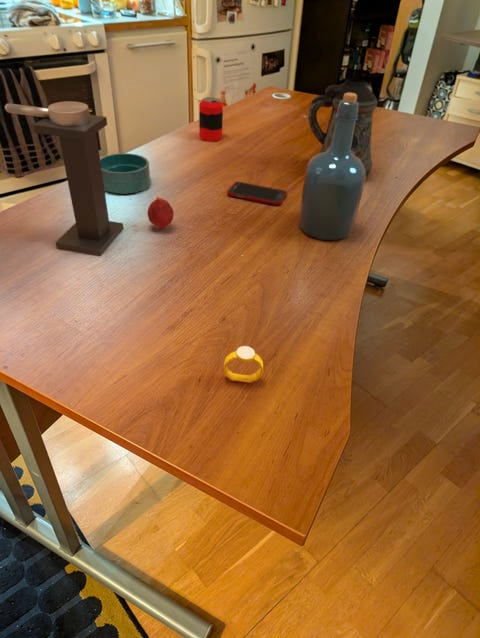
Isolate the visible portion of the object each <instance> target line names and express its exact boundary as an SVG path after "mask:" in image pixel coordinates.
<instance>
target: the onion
mask: <svg viewBox="0 0 480 638" xmlns="http://www.w3.org/2000/svg"><path fill="white" fill-rule="evenodd" d="M146 214H147V218H148V220H149V222H150V223H151V224H152V225H153V226H155V227H157V228H158V229H163V228H166V227H168V226H170V224H172V222H173V220H174V215H175V212H174V209H173V207H172V205H171V204H170V203H169V202H168V201H167V200H166V199H164V198H163V197H161V195H159V194H157V196H156V199H154V200H153V201H151V203H150V204H149V206H148V208H147V213H146Z"/></svg>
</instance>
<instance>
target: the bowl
mask: <svg viewBox="0 0 480 638" xmlns="http://www.w3.org/2000/svg"><path fill="white" fill-rule="evenodd" d="M100 162H101V169H102V176H103V183H104V190H105V191H106V192H109V193H113V194H124V195H125V194H133V193H139V192H142V191H143V190H146V189H147V188H148V187H149V186H150V185H151V173H150V172H151V170H150V161H149V160H148V158H146V157H145V156H143V155H139V154H135V153H128V152H127V153H125V152H123V153H121V152H120V153H112V154H108V155H105V156H102V157H100Z"/></svg>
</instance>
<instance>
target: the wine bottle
mask: <svg viewBox="0 0 480 638" xmlns="http://www.w3.org/2000/svg"><path fill="white" fill-rule="evenodd" d="M358 104H359V103H358V102H357V95H356V94H355V93H345V94H344V97H343V99H342V100H341V101H340V103H339V107H338V110H337V113H336V114H337V115H336V116H335V117H336V122H335V127H334V131H333V136H332V140H331V145H330V148H328V149H327V151H322V152H320V151H319V152H320V153H319V152H318V153H317V154H316V155H314V156H313V157H311V158H310V159H309V161H308V162H307V164H306V167H305V172H304V173H305V174H304V179H303V187H302V193H301V199H300V205H299V206H300V207H299V212H298V226H299V228H300V230H301V231H302V232H304V233H305V234H306V235H307V236H310V237H312V238H315V239H319V240H322V241H323V240H324V241H338V240H341V239H346V238H347V237H348V236H349V235H350V234H352V232H353V231H354V228H355V225H356V220H357V217H358V212H359V207H360V205H361V200H362V196H363V192H364V188H365V187H364V186H365V183H366V180H367V178H366V171H365V168H364V166H363V163H362V161H361V160H360V159H359V158H358V157H356V156H355V153H354V152H353V151H352V150H351V145H352V139H353V133H354V128H355V122H356V120H357V114H358ZM365 179H366V180H365Z"/></svg>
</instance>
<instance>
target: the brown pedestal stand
mask: <svg viewBox="0 0 480 638" xmlns="http://www.w3.org/2000/svg"><path fill="white" fill-rule="evenodd" d="M89 115H90V121H89V122H88V123H87V124H84V125H80V126H73V127H65V126H58V125H54V124H52V123H51V121H50V118H46V117H43V118H42V119H40V120H38V121H36V122H34V123H33V124H32V129H33V133H34V134H39V135H46V136H54V137H58V139H59V143H60V144H59V145H60V148H61V150H60V151H61V155H62V160H63V165H64V170H65V176H66V179H67V185H68V191H69V195H70V200H71V207H72V210H73V215H74V220H75V223H74V224H73V225H71V227H70V228H68V230H66V231H65V232H64V234H63V235H61V236H60V237H59V238H58V239H57V240H56V241H55V242H54V243H55V247H56V249H58V250H64V251H69V252H74V253H81V254H87V255H92V256H97V257H101V256H102V255H103V254H104V253H105V251H107V249H108V248H109V247H110V245H112V243H114V242H115V240H116V239H117V238H118V236H119V235H120V234H121V233H122V232H123V230H124V222H119V221H111V220H110V219H109V212H108V205H107V198H106V192H105V191H106V190H104V183H103V176H102V169H101V162H100V158H101V156H100V148H99V142H98V135H97V133H98V132H99V131H101V130H102V129H104V128H105V127H106V126H108V120H107V116H102V115H96V114H89Z"/></svg>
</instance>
